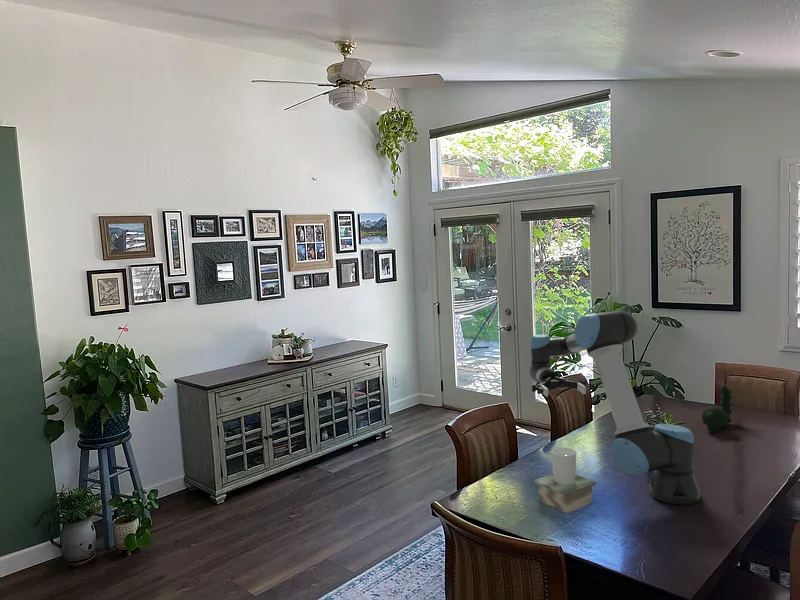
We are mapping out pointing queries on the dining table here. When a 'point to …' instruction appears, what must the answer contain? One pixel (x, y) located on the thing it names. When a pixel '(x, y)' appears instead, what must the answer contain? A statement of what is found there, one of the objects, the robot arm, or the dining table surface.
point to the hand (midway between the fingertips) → (566, 391)
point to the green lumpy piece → (718, 412)
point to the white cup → (564, 465)
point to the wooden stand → (565, 493)
